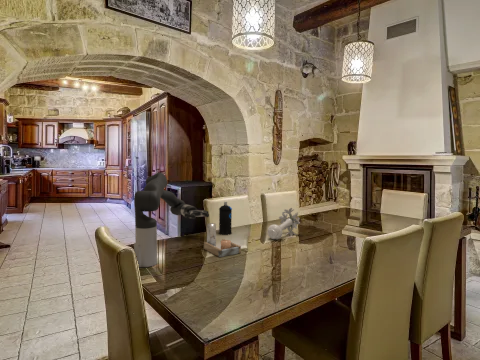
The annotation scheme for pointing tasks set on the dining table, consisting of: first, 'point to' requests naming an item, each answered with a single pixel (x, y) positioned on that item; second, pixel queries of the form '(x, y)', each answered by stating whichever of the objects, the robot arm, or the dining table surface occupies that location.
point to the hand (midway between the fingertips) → (201, 216)
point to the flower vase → (284, 225)
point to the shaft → (211, 233)
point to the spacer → (225, 244)
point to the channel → (225, 252)
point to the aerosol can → (225, 219)
